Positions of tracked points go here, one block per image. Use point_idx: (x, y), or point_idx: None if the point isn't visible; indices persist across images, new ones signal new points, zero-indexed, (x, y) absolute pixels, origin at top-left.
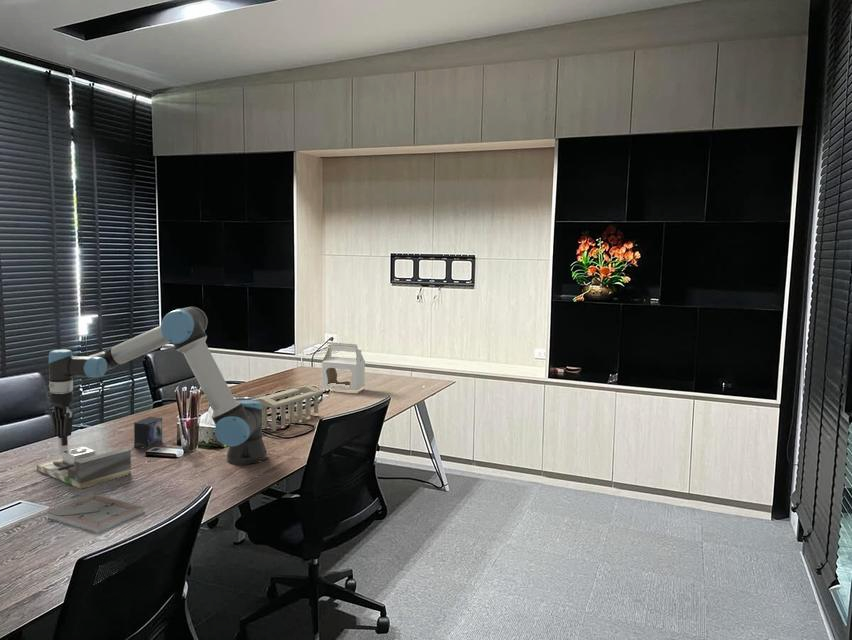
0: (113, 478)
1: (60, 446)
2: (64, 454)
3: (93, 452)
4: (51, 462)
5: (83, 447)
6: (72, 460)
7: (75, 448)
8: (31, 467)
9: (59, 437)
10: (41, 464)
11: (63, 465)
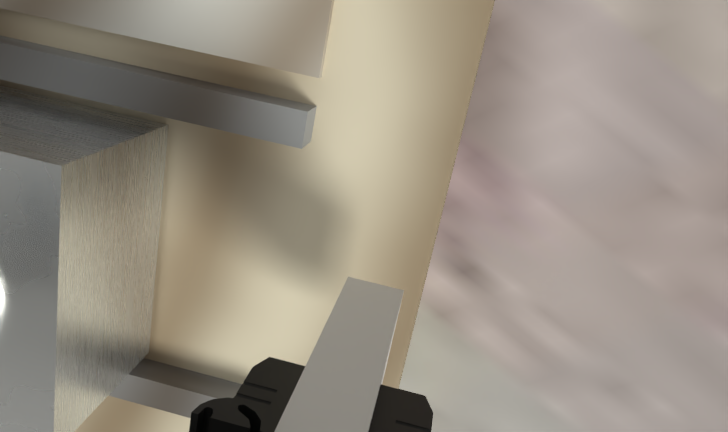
0: None
1: (319, 337)
2: (26, 144)
3: None
4: (391, 142)
5: (12, 424)
6: None
7: (53, 354)
8: (645, 27)
9: (219, 406)
10: (437, 25)
11: (54, 59)
